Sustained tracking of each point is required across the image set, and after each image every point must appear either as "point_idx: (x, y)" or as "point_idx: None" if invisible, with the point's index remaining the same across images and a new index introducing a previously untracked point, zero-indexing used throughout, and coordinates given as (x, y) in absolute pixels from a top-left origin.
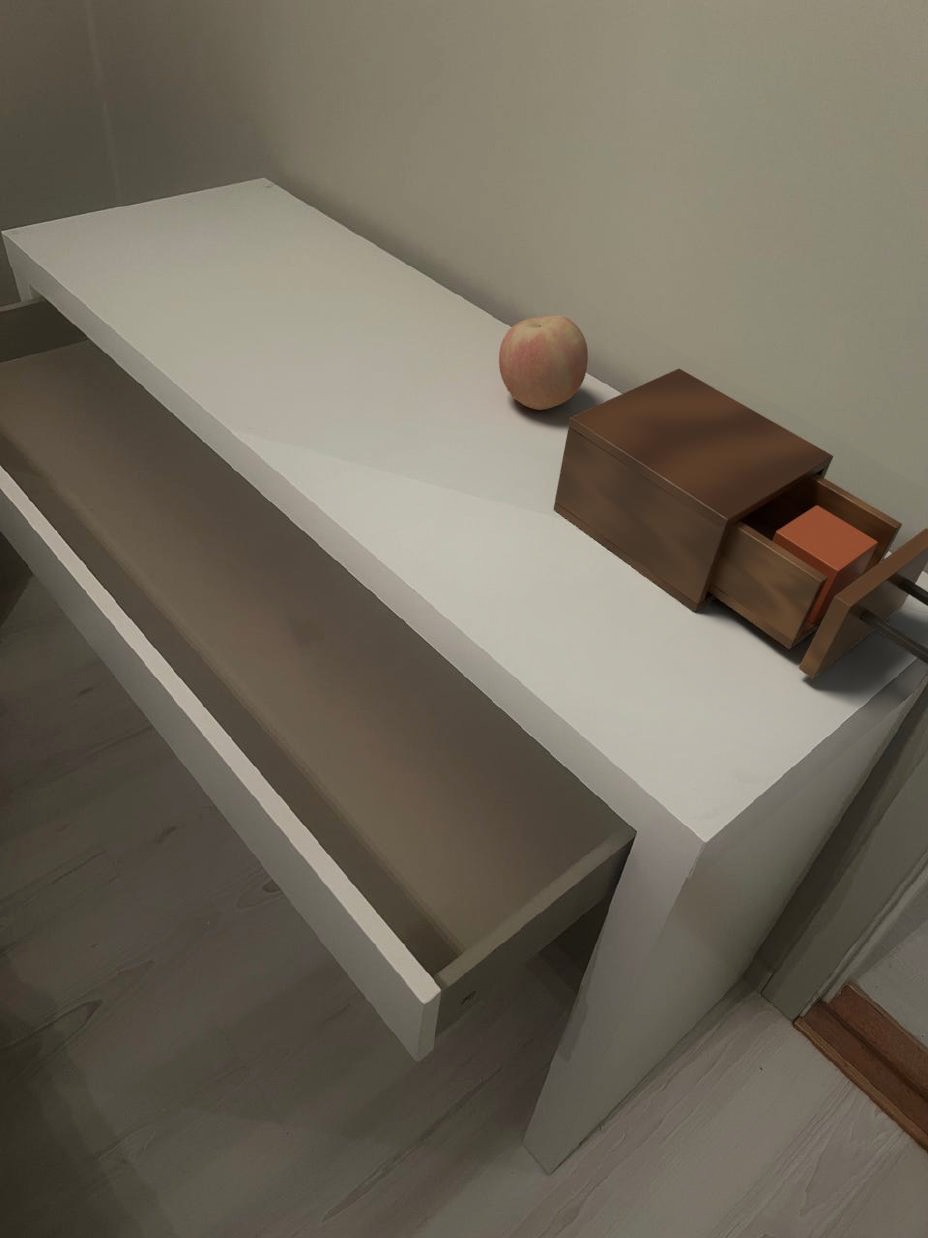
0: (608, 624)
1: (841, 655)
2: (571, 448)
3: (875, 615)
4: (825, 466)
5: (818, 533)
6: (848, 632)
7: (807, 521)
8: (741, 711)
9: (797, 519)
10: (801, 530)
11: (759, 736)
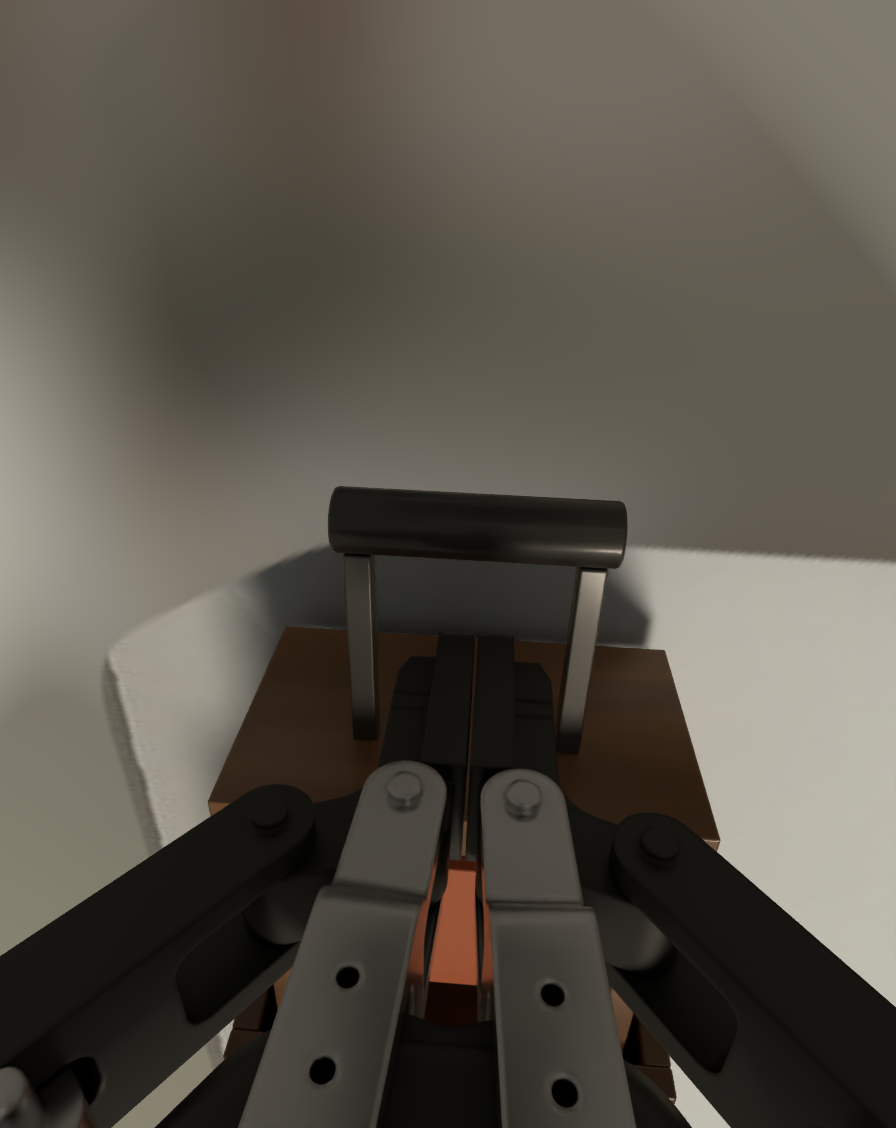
0: (774, 899)
1: (553, 646)
2: None
3: (559, 733)
4: (253, 1034)
5: (462, 944)
6: (600, 717)
7: (444, 969)
8: (822, 682)
9: (457, 981)
10: None
11: (866, 632)
